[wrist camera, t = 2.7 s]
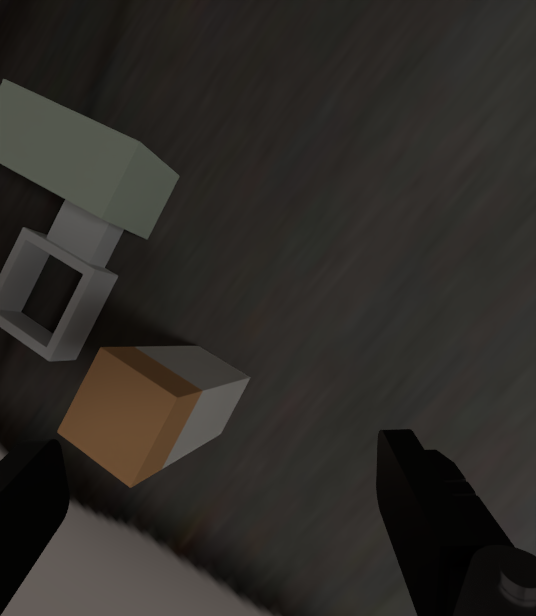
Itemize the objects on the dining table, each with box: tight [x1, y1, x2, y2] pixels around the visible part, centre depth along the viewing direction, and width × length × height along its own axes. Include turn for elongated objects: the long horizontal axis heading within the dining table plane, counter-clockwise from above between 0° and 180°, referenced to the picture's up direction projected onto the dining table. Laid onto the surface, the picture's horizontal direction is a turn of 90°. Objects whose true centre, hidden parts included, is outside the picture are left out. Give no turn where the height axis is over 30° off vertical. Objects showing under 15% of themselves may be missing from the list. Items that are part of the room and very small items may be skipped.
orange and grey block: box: [57, 346, 251, 488], centre depth 26 cm, size 5×5×12 cm
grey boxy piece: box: [0, 79, 180, 361], centre depth 33 cm, size 18×14×6 cm
